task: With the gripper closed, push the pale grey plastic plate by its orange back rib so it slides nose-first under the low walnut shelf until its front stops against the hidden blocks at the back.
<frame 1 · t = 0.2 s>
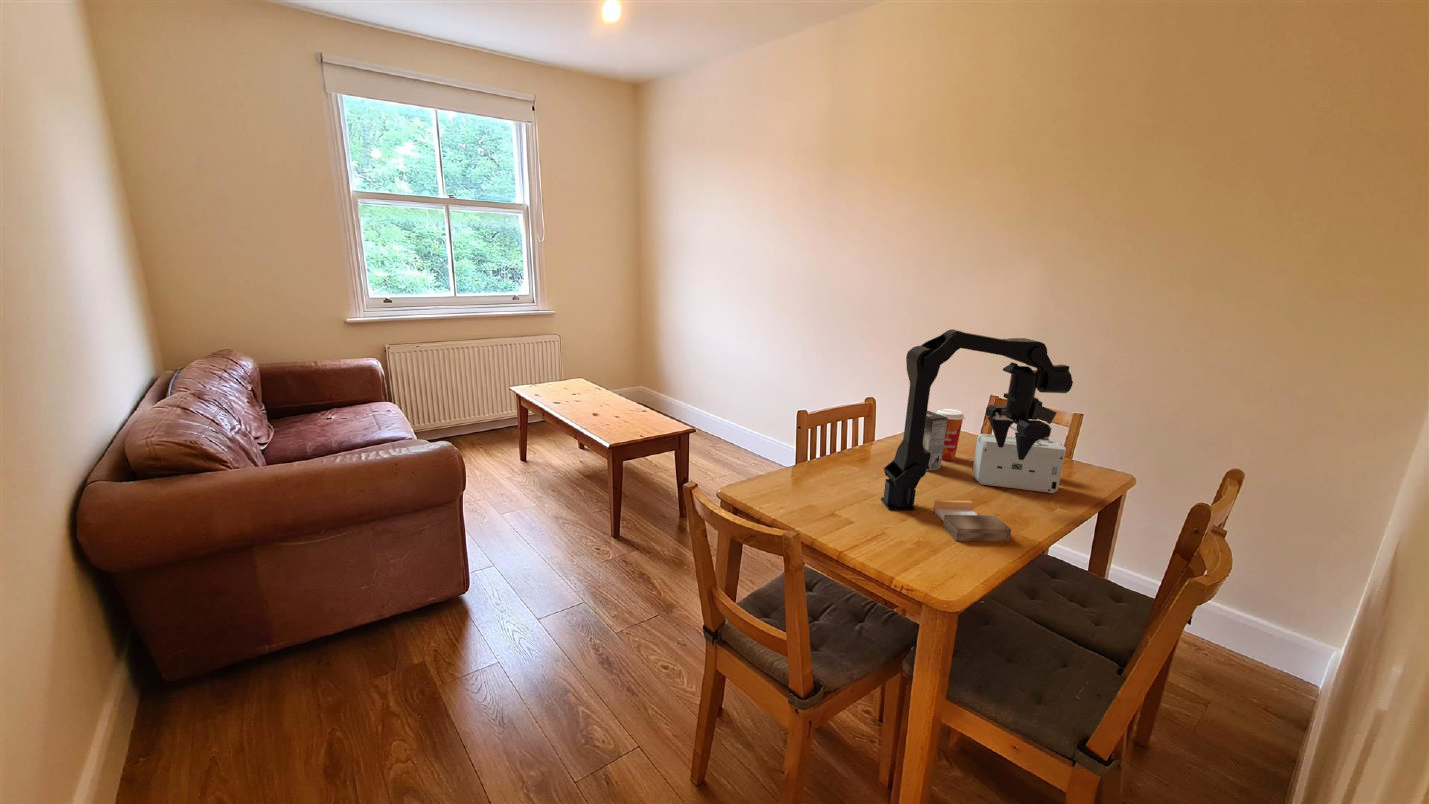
hand: (1010, 453, 141), 14 cm above the table, tool pointing down, fingers open, 9 cm apart
coffee box: (921, 465, 172), on the table
stereo radio cassette player: (1013, 486, 158), on the table
beverage can: (1032, 475, 166), on the table
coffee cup: (944, 458, 179), on the table
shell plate: (958, 519, 137), on the table
low shelf: (975, 534, 129), on the table
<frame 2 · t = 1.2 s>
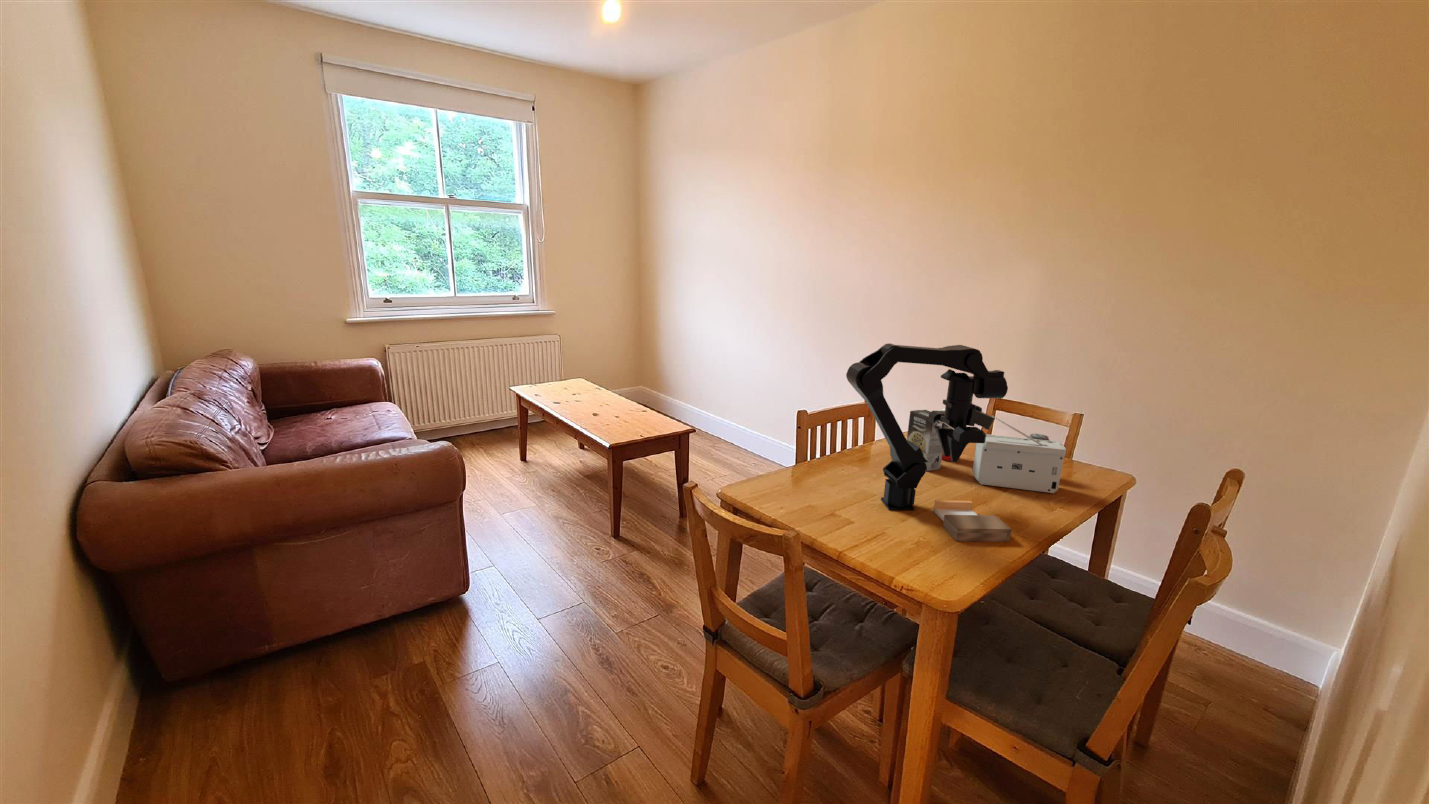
hand: (950, 459, 141), 12 cm above the table, tool pointing down, fingers open, 4 cm apart
nothing on the table moved.
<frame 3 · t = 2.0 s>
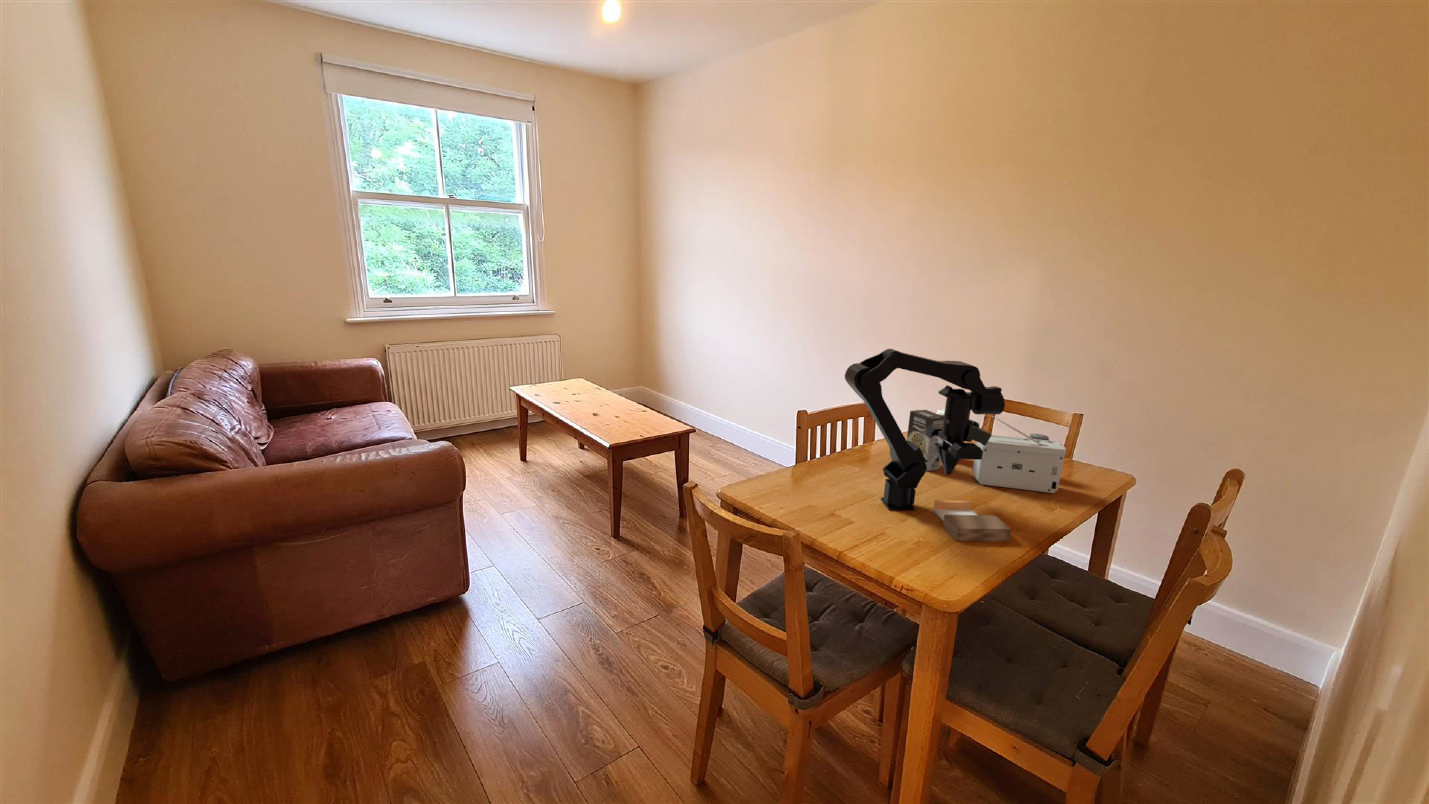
hand: (948, 474, 142), 8 cm above the table, tool pointing down, fingers closed
nothing on the table moved.
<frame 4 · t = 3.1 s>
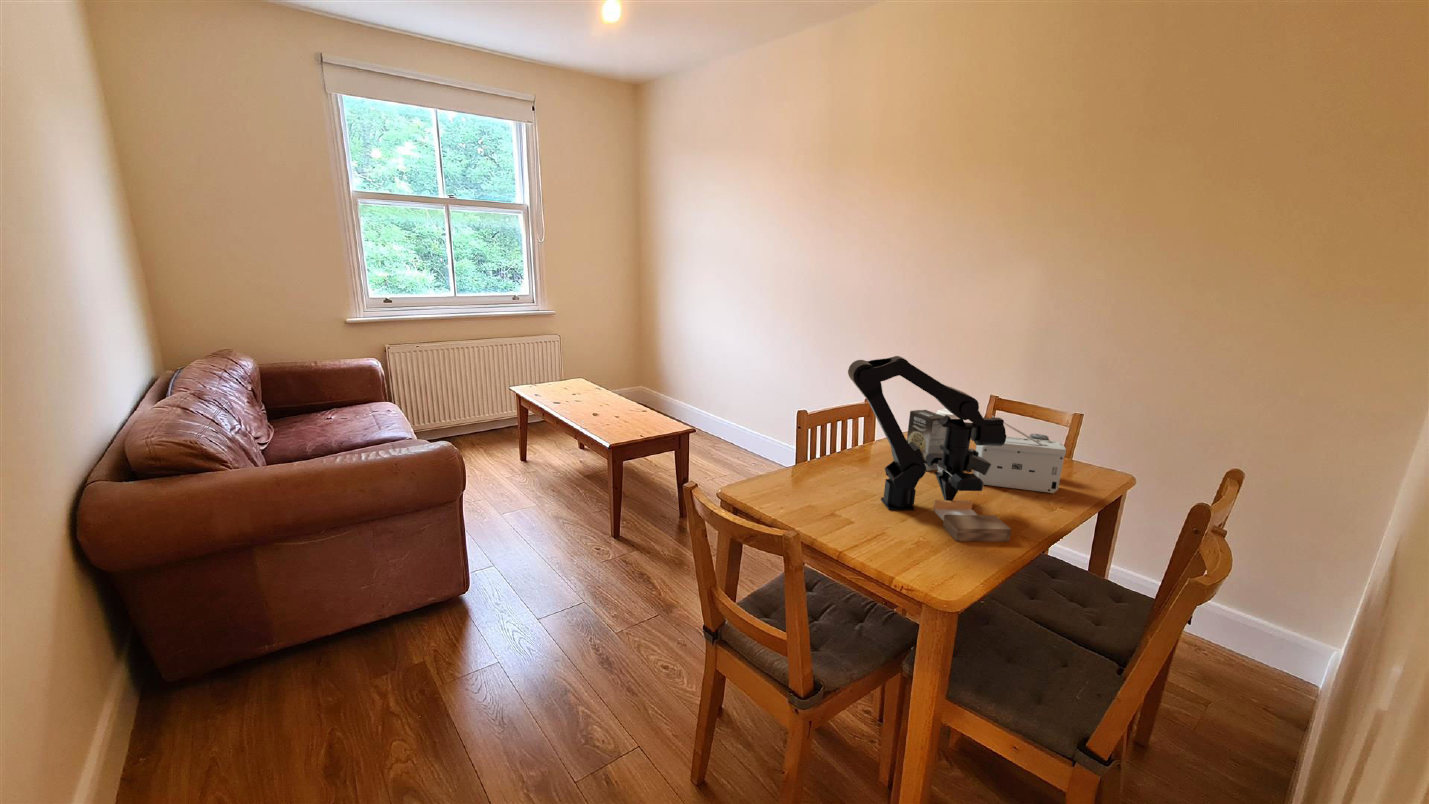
hand: (948, 503, 142), 1 cm above the table, tool pointing down, fingers closed
nothing on the table moved.
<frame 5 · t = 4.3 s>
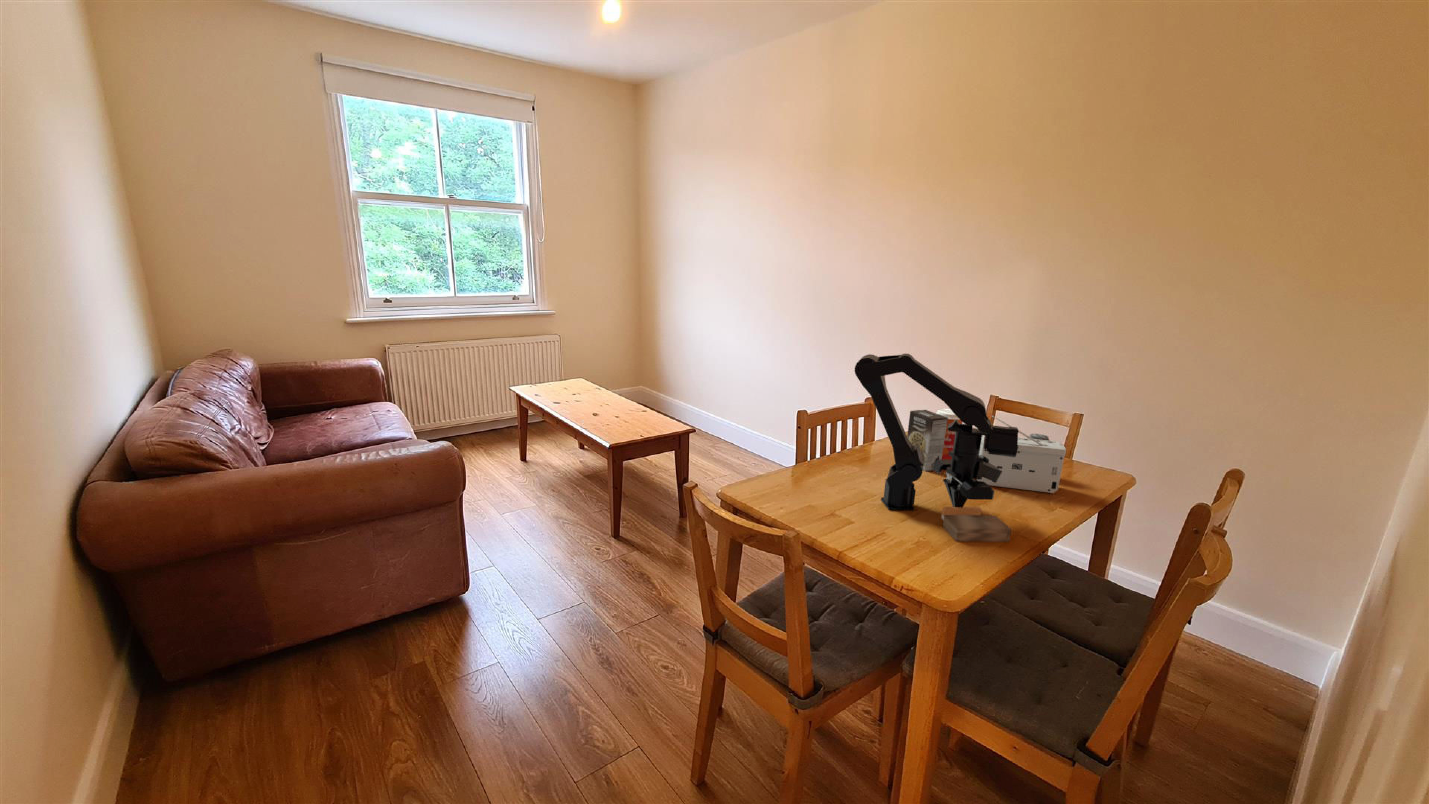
hand: (957, 511, 138), 1 cm above the table, tool pointing down, fingers closed
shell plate: (967, 526, 133), on the table, touching gripper
everything else where it was.
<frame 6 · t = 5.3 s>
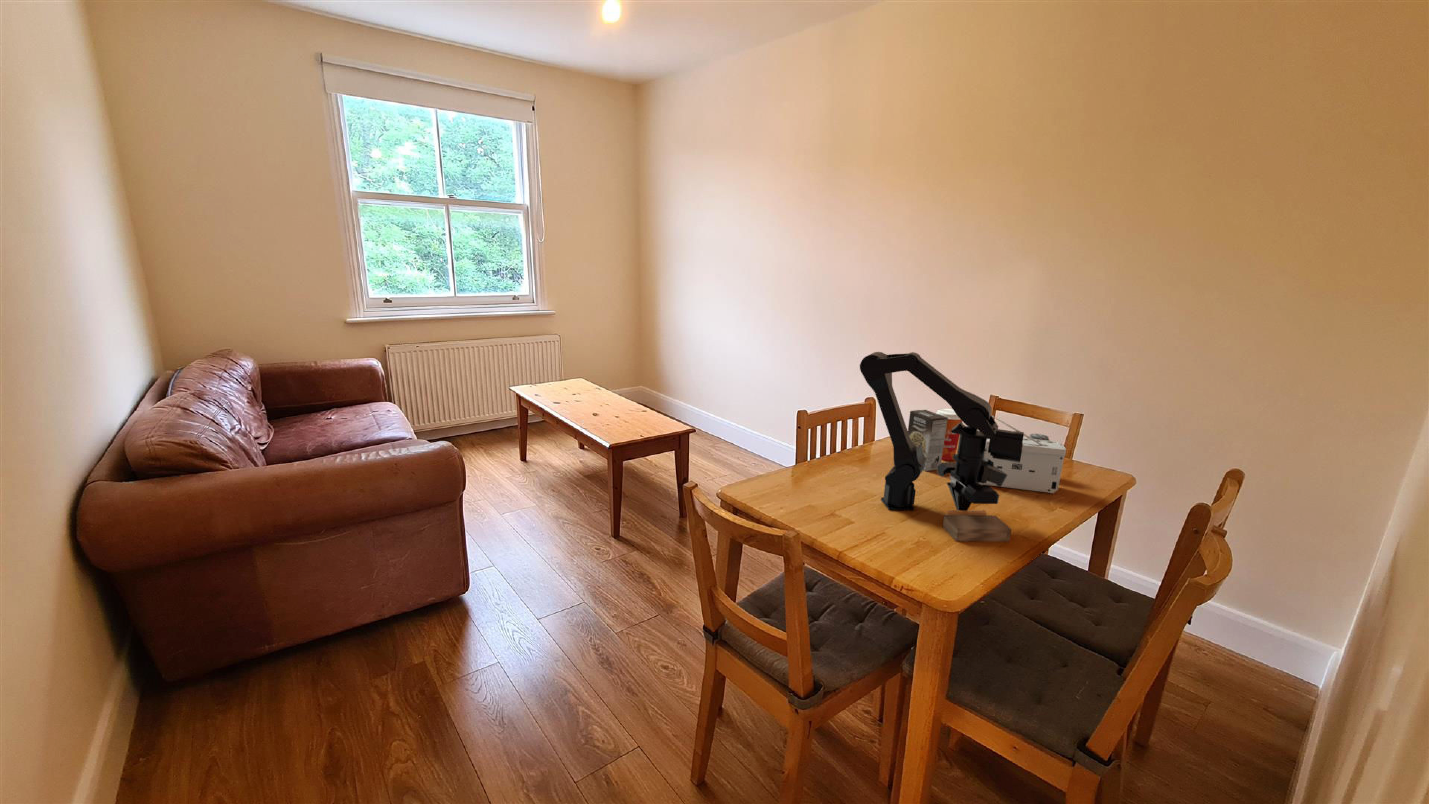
hand: (961, 515, 135), 1 cm above the table, tool pointing down, fingers closed
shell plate: (971, 530, 131), on the table, touching gripper, low shelf
everything else where it was.
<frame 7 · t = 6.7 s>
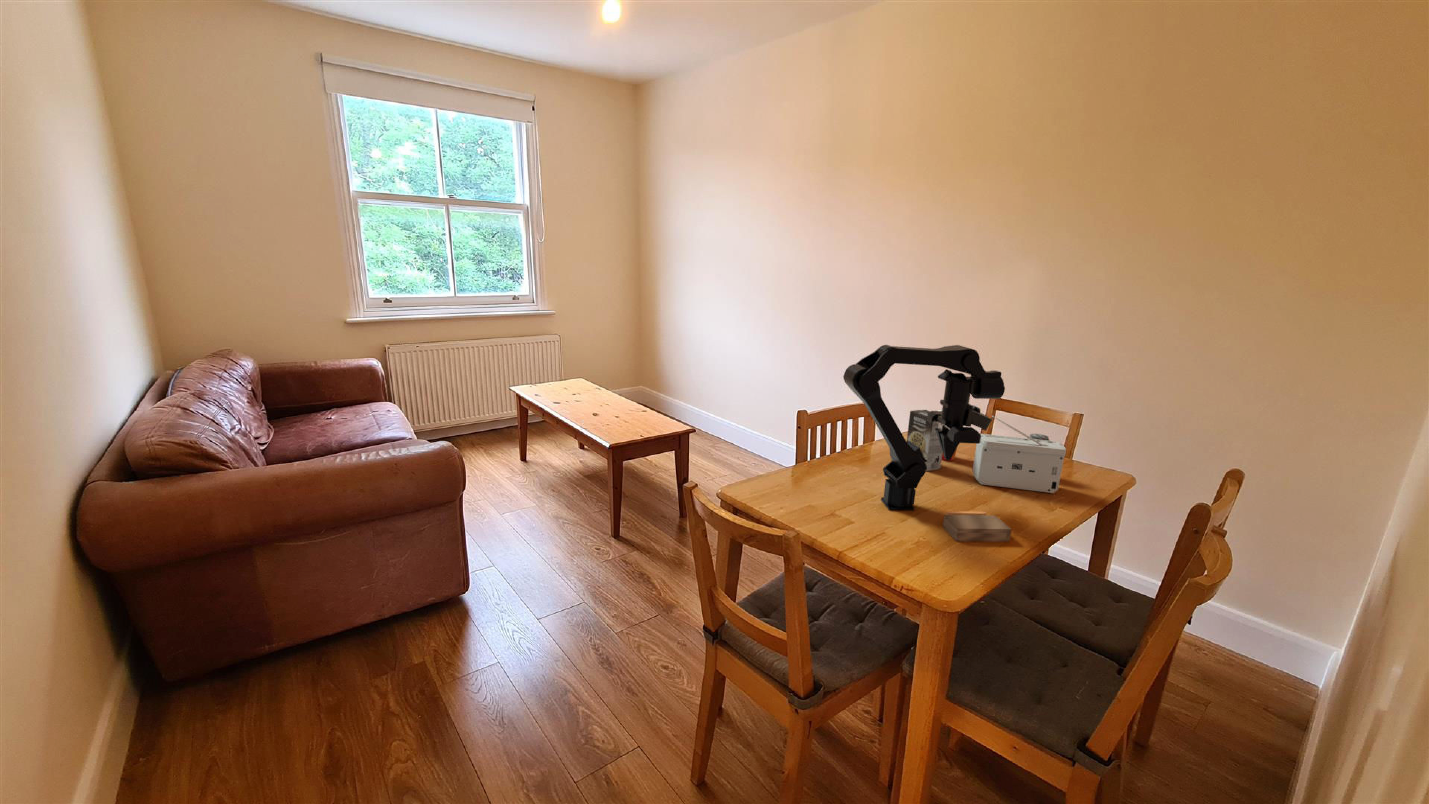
hand: (947, 459, 141), 12 cm above the table, tool pointing down, fingers closed
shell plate: (971, 531, 131), on the table
everything else where it was.
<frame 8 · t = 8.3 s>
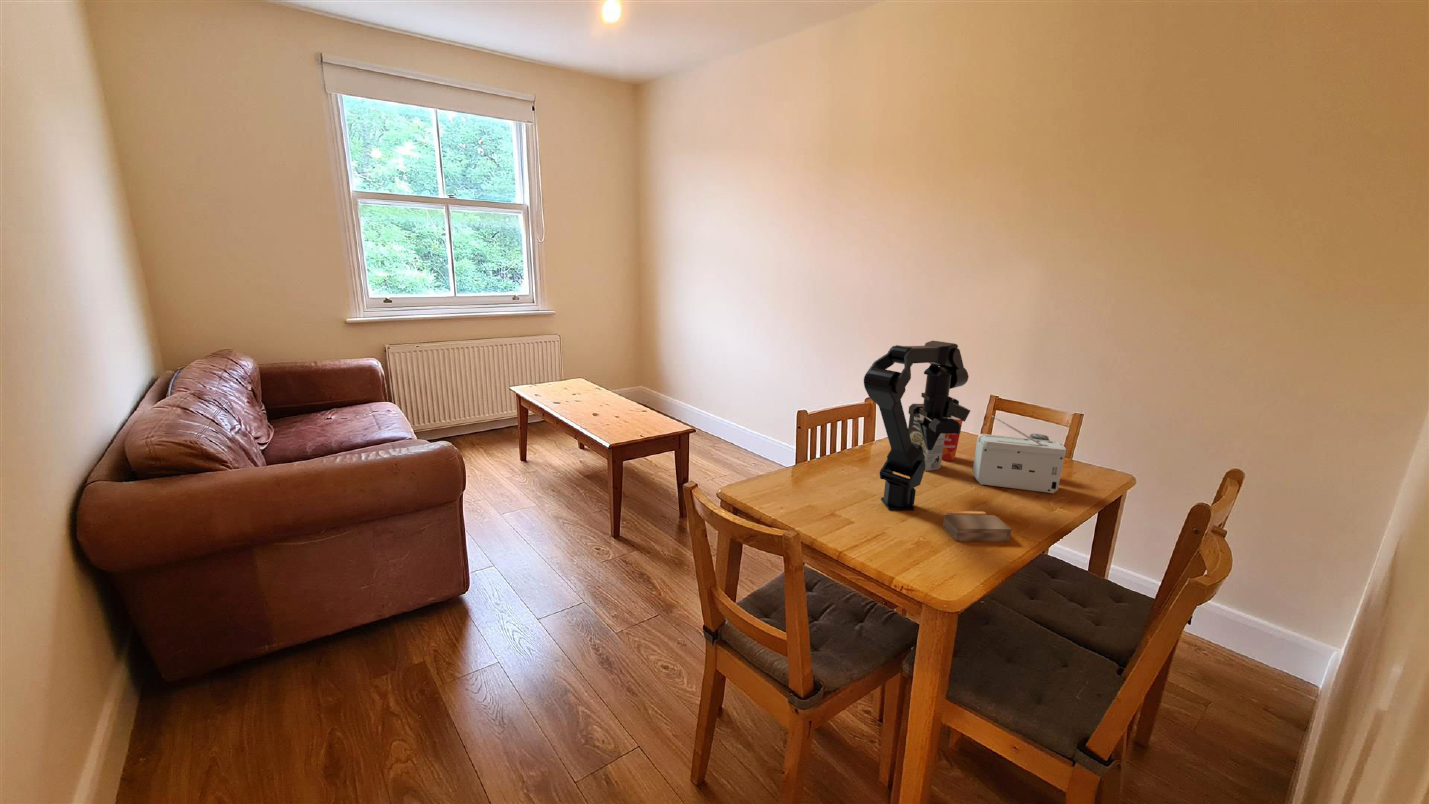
hand: (929, 449, 148), 12 cm above the table, tool pointing down, fingers closed
nothing on the table moved.
at the end: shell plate 0.2 cm from the target spot on the low shelf, point 0.0 cm above the low shelf's base; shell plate tilted 0°; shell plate moved 6.1 cm from its start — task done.
